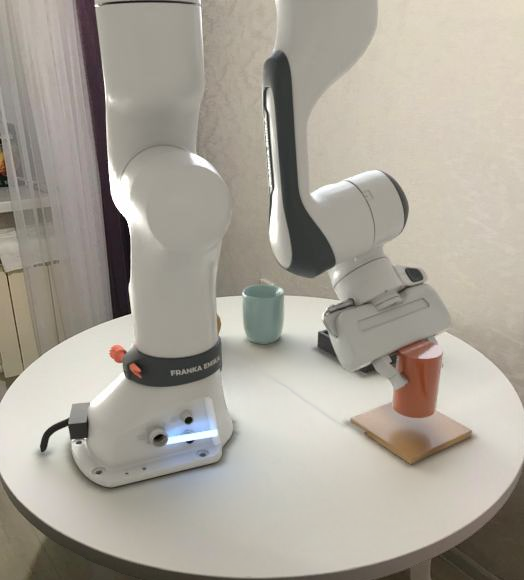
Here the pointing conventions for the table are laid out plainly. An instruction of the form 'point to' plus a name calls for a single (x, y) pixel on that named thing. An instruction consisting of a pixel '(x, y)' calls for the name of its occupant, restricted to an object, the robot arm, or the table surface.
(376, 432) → the board
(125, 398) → the robot arm
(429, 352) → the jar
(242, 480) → the table surface
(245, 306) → the cup
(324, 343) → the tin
